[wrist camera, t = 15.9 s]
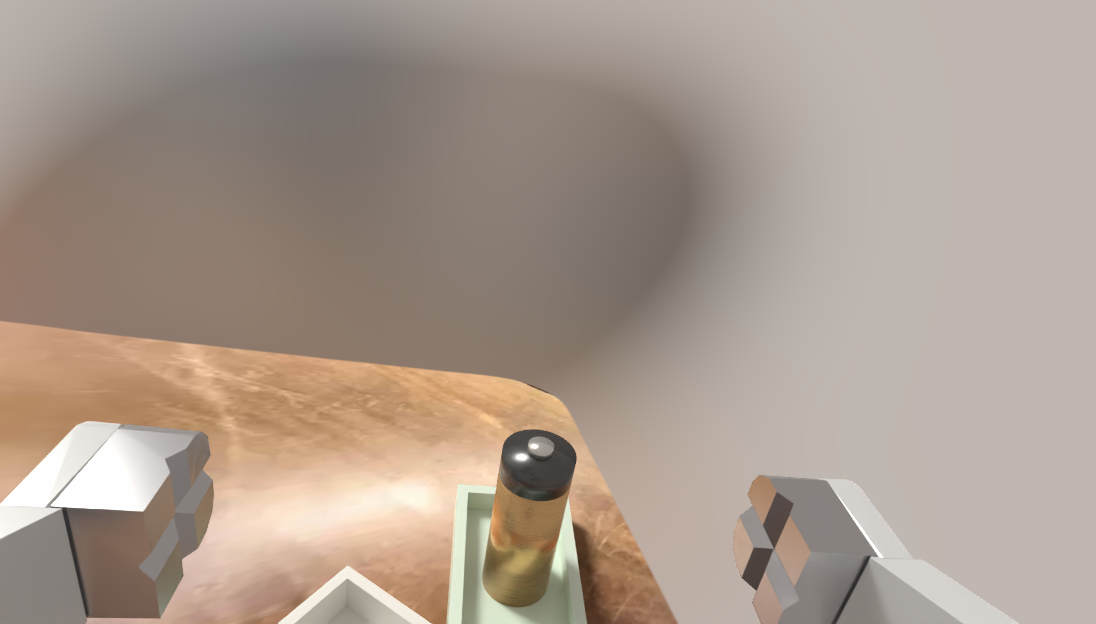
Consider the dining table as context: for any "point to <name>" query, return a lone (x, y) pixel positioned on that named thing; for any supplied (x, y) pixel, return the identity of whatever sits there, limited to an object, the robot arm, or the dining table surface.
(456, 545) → the pale green tray
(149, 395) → the dining table surface
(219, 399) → the dining table surface
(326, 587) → the small white open box
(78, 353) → the dining table surface
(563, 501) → the cell
